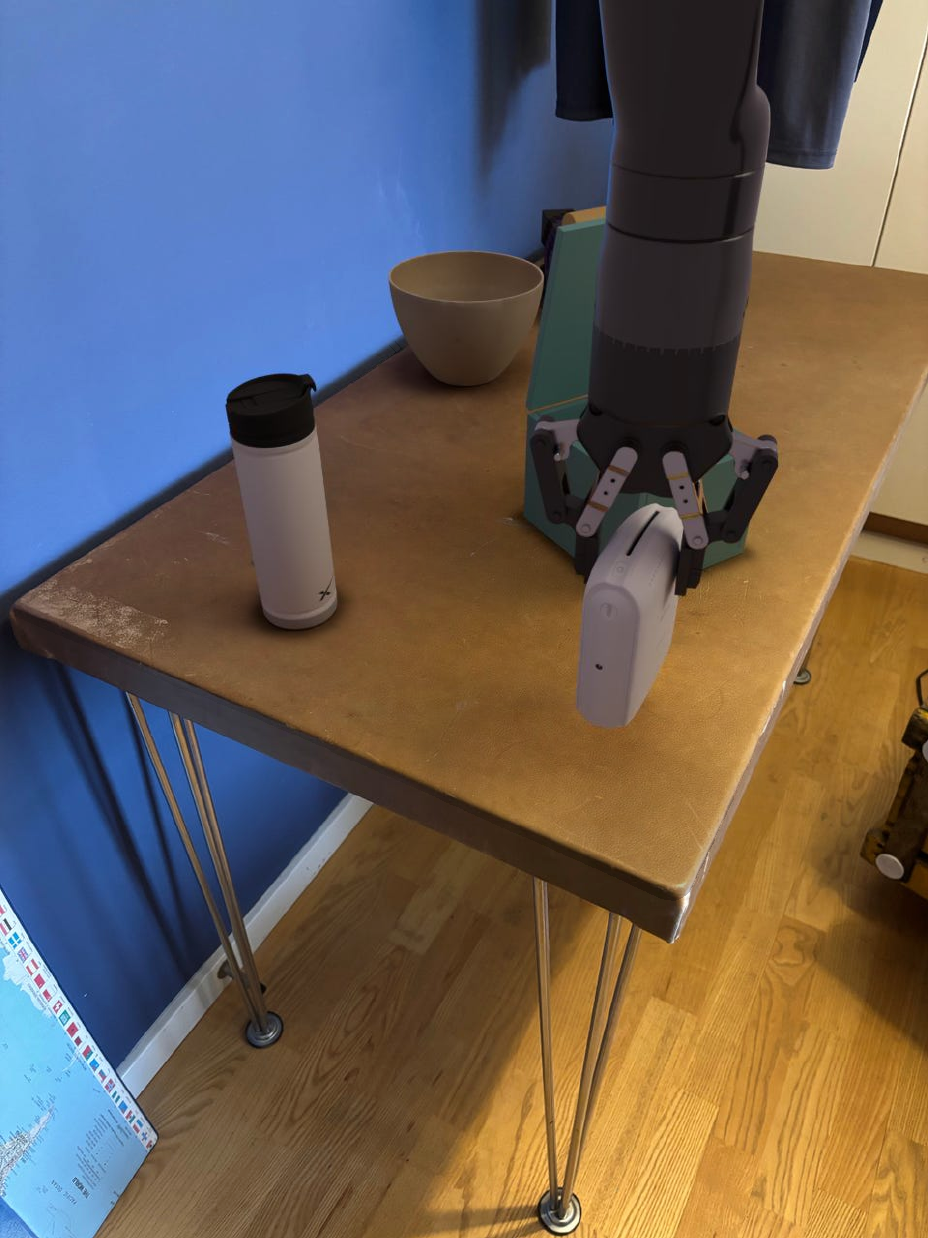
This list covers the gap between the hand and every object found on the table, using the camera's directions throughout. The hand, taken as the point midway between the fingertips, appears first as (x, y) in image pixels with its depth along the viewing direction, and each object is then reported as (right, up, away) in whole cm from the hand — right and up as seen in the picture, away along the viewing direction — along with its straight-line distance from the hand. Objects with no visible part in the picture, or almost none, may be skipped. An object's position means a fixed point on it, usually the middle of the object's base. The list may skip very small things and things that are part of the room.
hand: (635, 581), depth 57 cm
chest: (+5, +6, +28) cm, 29 cm away
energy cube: (+7, +42, +73) cm, 85 cm away
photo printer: (0, -7, +5) cm, 9 cm away
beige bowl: (-10, +28, +57) cm, 64 cm away
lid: (+2, +24, +20) cm, 31 cm away
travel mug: (-24, -1, +20) cm, 32 cm away
